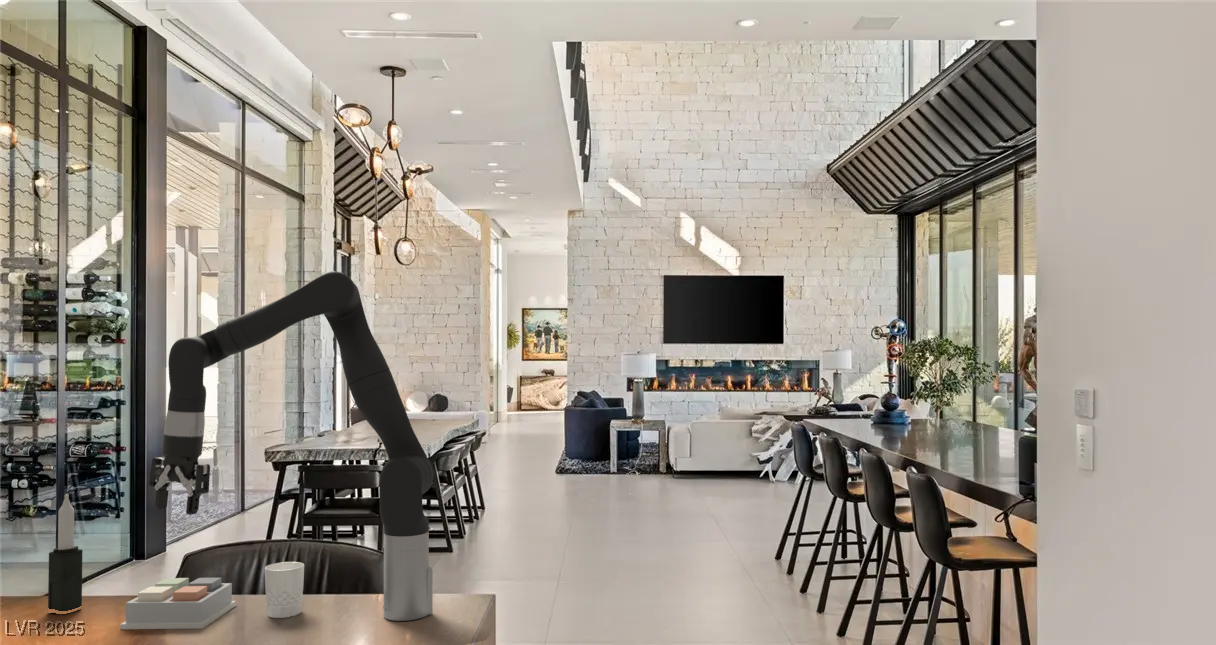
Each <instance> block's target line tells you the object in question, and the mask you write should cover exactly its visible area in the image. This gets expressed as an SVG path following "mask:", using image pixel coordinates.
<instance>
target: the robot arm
mask: <svg viewBox="0 0 1216 645" xmlns="http://www.w3.org/2000/svg"><path fill="white" fill-rule="evenodd" d="M321 315H324V317H325V319H326V320H327V322H328V324H329V326H330V329H331V330H332V332H333V334H334V336H335V339H336V341H337V344H338V347H339V352H340V358H341V364H342V368H343V373H344V376H345V380H346V384H347V386H348V389H349V391H350V393H351V394H350V395H351V396H352V398H353V401H354V403H355V405H356V407H357V410H358V411H359V413H360V414H361V415H362V416H363V418H364V419H365V420H366V421H367V423H368V424H369V426H370V427H371V428H372V429H373V430H374V431H375V433H376V434H377V436H378V437H379V438H380V440H381V442H382V445H383V446H384V449H385V451H386V454H387V457H388V461H387V462H386V463H385V464H384V466H383V467H382V469H381V471H380V475H379V482H378V483H379V484H378V486H379V490H378V491H379V514H380V520H381V522H382V524H383V605H382V606H383V617H384V619H386V620H389V621H397V622H398V621H399V622H400V621H401V622H402V621H404V622H405V621H413V620H414V621H415V620H419V619H423V618H425V617H427V616H429V615H433V613H434V612H433V610H434V609H433V604H434V602H433V596H434V594H433V593H434V591H433V589H434V587H433V585H434V584H433V574H434V573H433V567H430V566H429V565H430V564H429V563H430V562H429V559H430V557H429V552H430V550H429V549H430V546H429V541H430V539H429V537H430V536H429V532H430V531H429V530H430V526H429V525H430V523H429V522H430V520H429V517H427V516H426V515H425V513H424V508H423V507H424V506H423V495H424V494H425V493H426V492H427V493H428V491H429V489H430V488H431V487H432V485H433V482H434V470H433V467H432V464H431V462H430V459H429V458H428V456H427V454H426V452H425V450H424V448H423V446H422V444H421V443H420V441H419V439H418V438H417V435H416V433H415V431H414V429H413V427H412V424H411V421H410V419H409V416H408V412H407V410H406V407H405V406H404V403H403V401H402V398H401V395H400V393H399V389H398V386H397V384H396V381H395V379H394V377H393V375H392V372H391V369H390V367H389V365H388V362H387V360H386V359H385V356H384V354H383V353H382V350H381V348H380V347H379V345H378V343H377V341H376V339H375V337H374V334H372V332H371V329H370V327H369V323H368V320H367V316H366V314H365V310H364V306H363V303H362V299H361V295H360V291H359V288H358V286H357V285H356V284H355V282H354V281H353V279H352V278H351V277H350V276H348V275H347V274H346V273H344V272H341V271H334V270H330V271H327V272H324V273H323V274H321V275H319V276H318V277H315V278H314V279H312V280H311V281H309V282H307V283H306V284H304V285H303V286H301V287H299V288H298V289H296V290H294V291H292V292H290V293H288V294H287V295H285V296H282V297H281V298H279V299H277V300H274V301H272V302H270V303H268V304H265V305H264V306H261V307H259V308H256V309H254V310H252V311H249V312H246V313H244V314H241V315H239V316H237V317H234V318H231V319H229V320H227V321H224V322H222V323H221V324H219V325H218V326H216V327H215V329H212V330H209V331H206V332H204V333H202V334H199V335H196V336H193V337H191V336H186V337H181V338H179V339H177V340H176V341H175V342H174V343H173V344H172V346H171V348H170V350H169V355H168V378H169V380H168V382H169V388H170V389H169V393H168V394H169V395H168V401H167V402H168V404H167V412H166V417H165V421H164V427H163V428H164V429H163V430H164V431H163V439H162V450H161V454H162V455H163V456H160V457H159V456H157V457H153V458H152V459H151V467H150V474H149V480H148V485H149V487H153V488H154V490H156V492H155V509H157V510H158V509H159V510H162V509H163V510H164V509H166V508H167V507H168V503H169V502H168V499H169V492H170V491H169V490H168V489H169V488H170V487H171V484H172V483H174V482H176V483H179V484H181V485H182V487H183V488H185V490H186V493H187V494H188V496H187V501H186V508H185V513H186V515H189V516H190V515H196V514H197V513H198V511H199V508H200V498H201V496H202V495H204V494H208V493H209V491H210V478H211V477H210V476H211V465H210V464H209V463H206V464H205V463H203V464H199V458H200V457H201V456H202V454H203V445H204V444H203V443H204V437H205V436H204V434H205V425H206V419H205V411H206V402H207V401H206V399H207V389H206V386H205V385H204V374H205V373H204V370H205V368H206V369H207V368H209V367H210V366H213V365H215V364H217V363H219V362H221V361H223V360H225V359H226V358H229V357H230V356H232V355H236V354H239V353H242V352H244V351H246V350H248V349H251V348H253V347H256V346H258V345H260V344H263V343H266V342H267V341H268V340H271V339H272V338H273V337H275V336H277V335H279V334H280V333H282V332H283V331H285V330H286V329H288V328H289V327H291V326H294V325H295V324H298V323H299V322H301V321H304V320H307V319H310V318H313V317H316V316H321ZM156 477H157V478H156Z"/></svg>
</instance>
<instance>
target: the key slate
mask: <svg viewBox="0 0 1216 645" xmlns="http://www.w3.org/2000/svg"><path fill="white" fill-rule="evenodd" d="M221 583H222V577H198V578H196V579H194V580H193V581H191V582H189V586H207V592H214V591H215V590H217V589H219V588H220V587H221Z"/></svg>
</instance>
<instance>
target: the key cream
mask: <svg viewBox="0 0 1216 645" xmlns="http://www.w3.org/2000/svg"><path fill="white" fill-rule="evenodd" d="M172 596H173V586H167V587H155V586H149V587H146V588H145V589H143V590H141V591H139V592H137V597H138V602H146V601H165V600H167V599H168V598H170V597H172Z"/></svg>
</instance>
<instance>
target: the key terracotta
mask: <svg viewBox="0 0 1216 645" xmlns="http://www.w3.org/2000/svg"><path fill="white" fill-rule="evenodd" d="M205 596H207V586H184V587H182V588H180V589H178V590H176V591H175V592H173V601H199V600H201V599H202V598H204V597H205Z"/></svg>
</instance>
